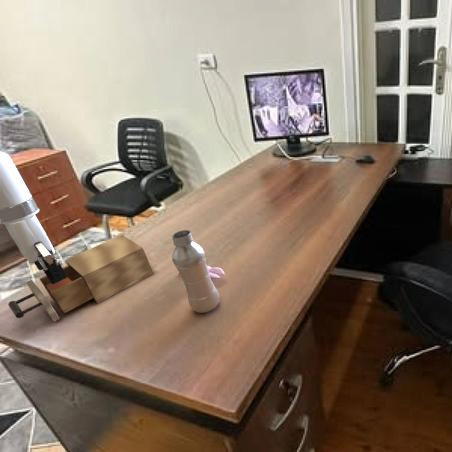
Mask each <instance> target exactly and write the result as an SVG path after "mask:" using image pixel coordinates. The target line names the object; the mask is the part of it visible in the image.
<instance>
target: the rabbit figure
mask: <svg viewBox="0 0 452 452" xmlns="http://www.w3.org/2000/svg"><path fill="white" fill-rule="evenodd" d="M207 269H208V272H209V276H210V278H211V279H212V278H214V279H221V276H219V275H222V276H225V272H224V270H223V269H222V268H220V267H216V266H215V267H211V266H209V265H207ZM178 275H179V276H181V275H180V273H179V272H178Z"/></svg>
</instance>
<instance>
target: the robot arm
mask: <svg viewBox="0 0 452 452" xmlns="http://www.w3.org/2000/svg"><path fill="white" fill-rule="evenodd" d="M23 179H24V178H23V177H22V175H21V174H20V171H19V170H18V169H17V166H16V165H15V162H14V161H13V159H12V157H11V156H10V155H9V154H8V153H7V152H5V151H3V150H1V151H0V225H4V226H5V229H6V230H7V232H8V233H9V235H10V237H11V239H12V241H14V243H15V245H16V247H17V248H18V250H19V252H20V253H21V255H22V256H23V257H24V258H25V260H26V261H28V263H30V264H34V265H35V266H36V269H37V270H38V271H43V273H44V275H45V276H47V278H48V279H49V281H50V283H51V284H55V283H57V282H59V281H61V280H63V279H66V278H67V275H66V273H65V272H64V270H63V266H62V265H61V263H60V262H59V260H58V259H57V258H56V257H55V254H56V251H55V248H54V247H53V244H52V243H51V241H50V239H49V237H48V235H47V233H46V231H45V230H44V227H43V226H42V224H41V222H40V220H39V219H38V217H37V215H36V214H38V213H39V212H40V208H39V206H38V204H37V203H36V201H35V199H34V197H33V195H32V193H31V191H30V189H29V188H28V187H27V185H26V183H25V181H24V180H23Z"/></svg>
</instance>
